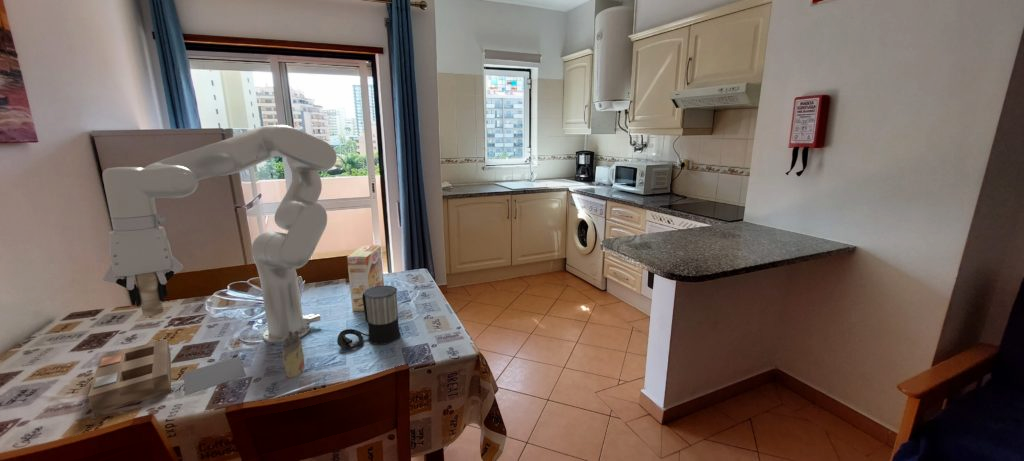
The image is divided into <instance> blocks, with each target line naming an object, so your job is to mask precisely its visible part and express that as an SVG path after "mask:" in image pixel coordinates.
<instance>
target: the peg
mask: <svg viewBox="0 0 1024 461" xmlns="http://www.w3.org/2000/svg"><path fill="white" fill-rule="evenodd" d="M135 281H136V283H135V284H136V286H137V288H138V292H139V297H140V302H141V305H140V307H141V312H142V316H143V317H152V316H157V315H160V314H162V313H164V307H163V302H162V301H161V300H160V295H159V289H158V285H159V284H158V283H159V282H158V281H159V278H158V276H157V273H156V272H155V273H144V274H140V275H136V276H135Z"/></svg>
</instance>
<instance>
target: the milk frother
mask: <svg viewBox="0 0 1024 461" xmlns="http://www.w3.org/2000/svg"><path fill="white" fill-rule="evenodd" d="M397 292H398V287H395V286H392V285H385V284H384V285H383V286H376V287H372V288H369V289H367V290H366V291H365V292H364V293H363V297H362V299H363V306H364V311H363V312H364V320H365V322H366V323H367V327H368V334H367V333H363V332H362V331H359V330H357V329H352V328H346V329H343V330H341V331H340V332H339V334H338V335H337V338H336V341H337V345H338V346H339V347H340V348H341V349H343V350H354V349H357V348H359V347H360V346H361V345H363V341H364V336H365V337H368V338H367V340H368V342H369V343H370V344H373V345H380V346H381V345H387V344H391V343H394V342H396V341H398V339H399V338H400V337H401V332H400V326H399V312H398V310H399V309H398V296H397ZM346 335H355V336H356V337H357V339H358V341H357V342H355V343H354V344H353V339H350V338H349V337H347V336H346Z"/></svg>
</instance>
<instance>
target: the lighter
mask: <svg viewBox="0 0 1024 461" xmlns="http://www.w3.org/2000/svg"><path fill="white" fill-rule="evenodd" d="M289 336H290V338H288V337H289ZM288 337H287V338H286V339H285V340H284V342H283V343H284V344H283V345H282V350H281V351H282V358H283V363H284V371H285V377H286V378H295V377H297V376H300V375H301V374H302V372H303V369H304V367H305V360H304V359H305V358H304V351H303V350H304V349H303V344H302V340H301V337H299V336H298V331H295V333H294V334H292V331H290V332H289V335H288Z"/></svg>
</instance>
